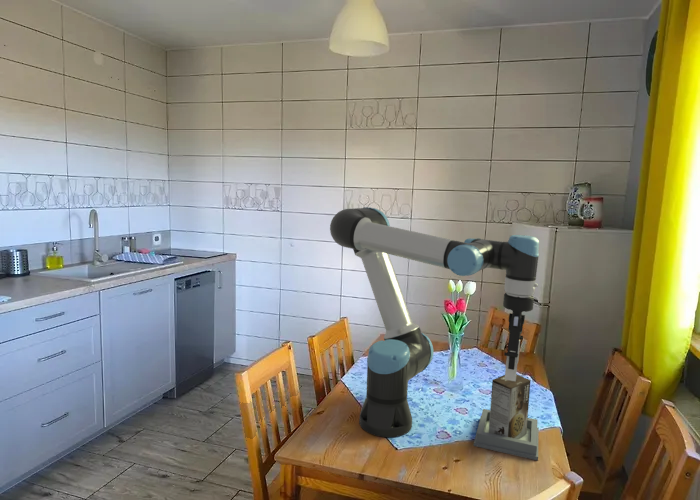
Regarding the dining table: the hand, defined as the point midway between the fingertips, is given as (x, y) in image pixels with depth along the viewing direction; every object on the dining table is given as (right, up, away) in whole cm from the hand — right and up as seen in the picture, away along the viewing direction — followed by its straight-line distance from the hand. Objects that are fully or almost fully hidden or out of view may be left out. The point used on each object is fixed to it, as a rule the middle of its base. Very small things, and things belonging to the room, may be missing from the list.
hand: (511, 370), depth 127 cm
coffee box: (0, -18, +2) cm, 19 cm away
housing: (0, -19, +3) cm, 20 cm away
